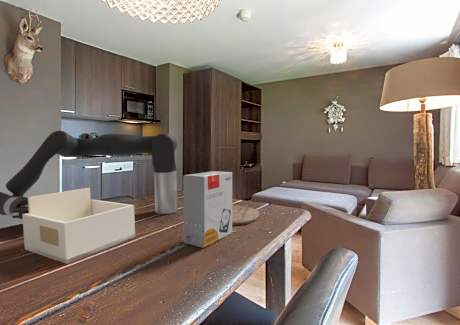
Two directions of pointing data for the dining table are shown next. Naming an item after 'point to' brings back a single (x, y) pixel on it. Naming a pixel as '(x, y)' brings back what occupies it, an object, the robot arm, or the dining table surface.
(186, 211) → the hard drive box
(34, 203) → the flap
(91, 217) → the carton
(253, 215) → the trivet
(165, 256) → the dining table surface
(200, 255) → the dining table surface
